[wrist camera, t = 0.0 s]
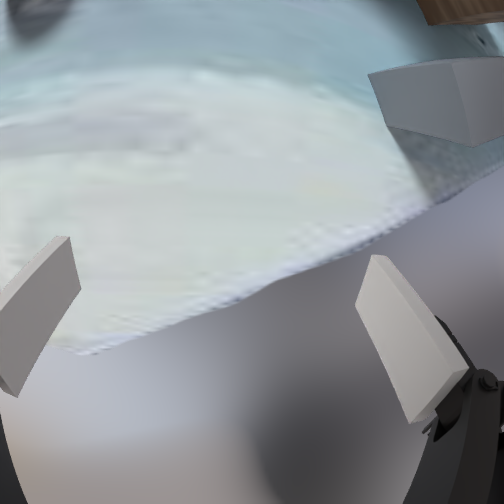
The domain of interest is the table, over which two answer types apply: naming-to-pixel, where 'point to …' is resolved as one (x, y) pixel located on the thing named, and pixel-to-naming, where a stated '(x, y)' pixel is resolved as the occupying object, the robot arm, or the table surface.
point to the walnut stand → (462, 11)
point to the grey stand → (445, 98)
